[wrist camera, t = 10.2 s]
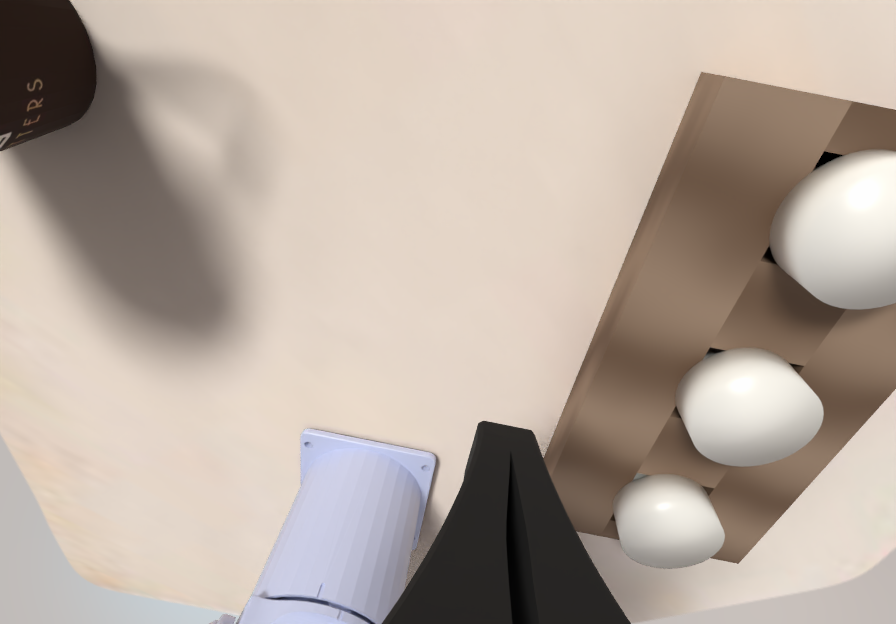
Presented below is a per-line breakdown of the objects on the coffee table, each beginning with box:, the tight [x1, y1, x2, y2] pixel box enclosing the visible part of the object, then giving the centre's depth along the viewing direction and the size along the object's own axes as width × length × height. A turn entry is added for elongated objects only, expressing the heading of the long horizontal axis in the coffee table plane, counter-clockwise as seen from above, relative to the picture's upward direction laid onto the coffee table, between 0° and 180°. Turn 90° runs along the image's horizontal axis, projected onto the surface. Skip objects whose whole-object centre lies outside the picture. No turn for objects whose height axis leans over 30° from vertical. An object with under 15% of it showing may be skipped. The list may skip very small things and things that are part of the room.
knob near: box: [769, 149, 896, 310], centre depth 16 cm, size 5×5×4 cm
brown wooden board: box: [544, 72, 896, 564], centre depth 21 cm, size 23×12×2 cm, turn 170°
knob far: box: [613, 473, 725, 569], centre depth 24 cm, size 5×5×4 cm
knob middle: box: [675, 347, 824, 467], centre depth 20 cm, size 5×5×4 cm
